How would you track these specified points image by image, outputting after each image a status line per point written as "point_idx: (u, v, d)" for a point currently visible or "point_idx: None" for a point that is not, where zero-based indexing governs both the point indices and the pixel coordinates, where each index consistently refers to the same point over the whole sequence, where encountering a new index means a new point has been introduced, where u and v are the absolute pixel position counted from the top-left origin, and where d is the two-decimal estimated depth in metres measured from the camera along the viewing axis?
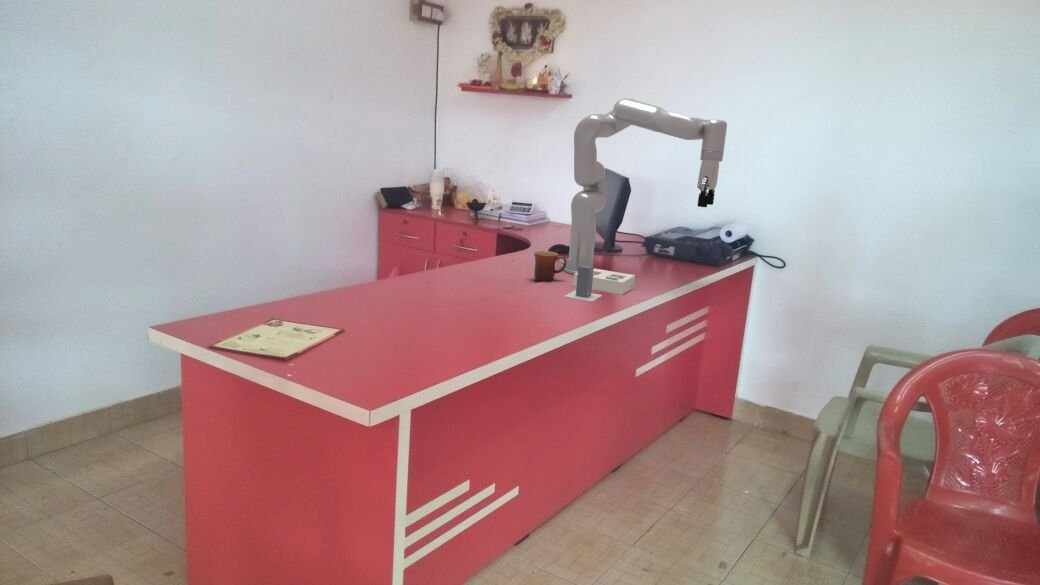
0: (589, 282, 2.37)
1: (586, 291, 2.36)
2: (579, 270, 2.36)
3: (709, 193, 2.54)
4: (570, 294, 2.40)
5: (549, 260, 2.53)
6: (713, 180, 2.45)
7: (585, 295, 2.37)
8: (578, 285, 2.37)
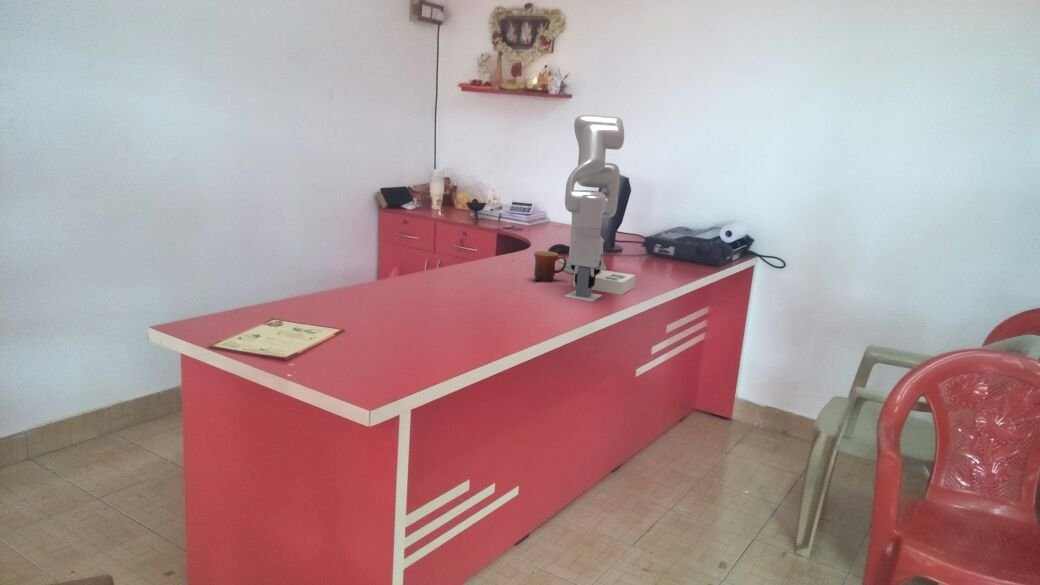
0: None
1: (586, 291, 2.36)
2: (579, 270, 2.36)
3: None
4: (570, 294, 2.40)
5: (549, 260, 2.53)
6: None
7: (585, 295, 2.37)
8: (578, 285, 2.37)
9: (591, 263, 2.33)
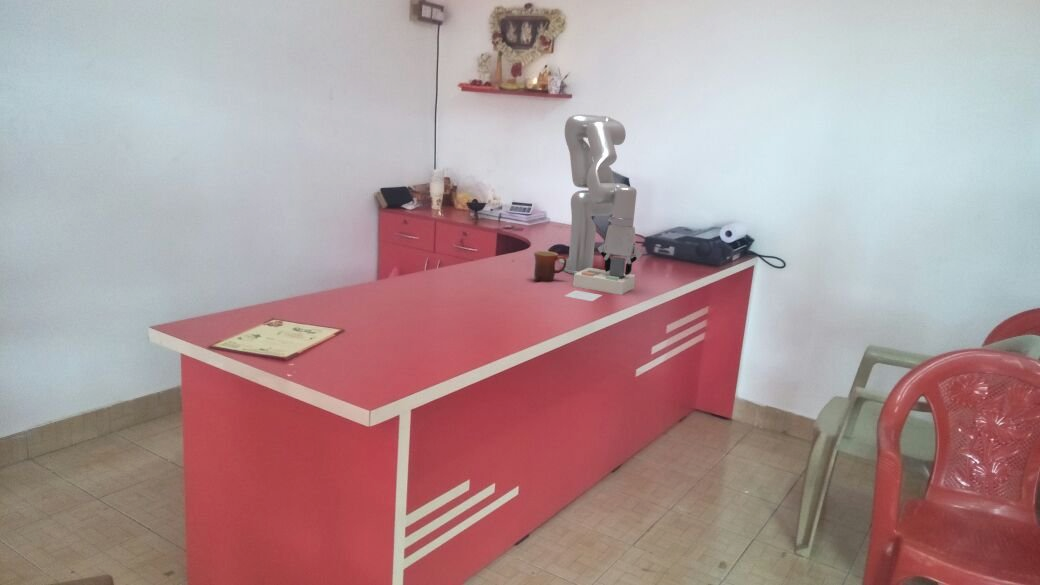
0: (621, 272, 2.49)
1: None
2: (612, 261, 2.48)
3: (609, 260, 2.51)
4: (570, 294, 2.40)
5: (549, 260, 2.53)
6: None
7: None
8: None
9: (624, 252, 2.45)
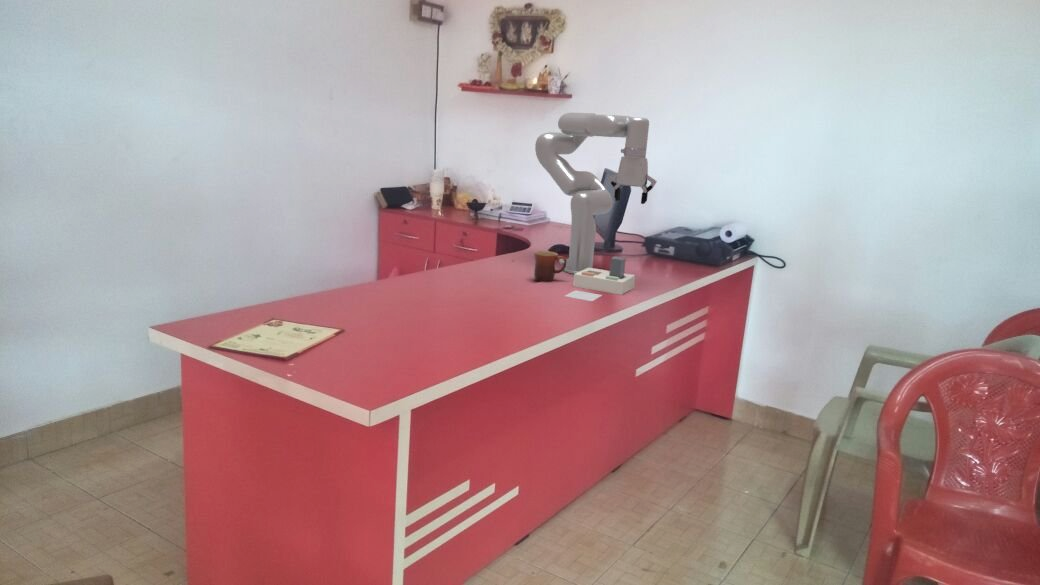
0: (621, 272, 2.49)
1: None
2: (612, 261, 2.48)
3: (619, 189, 2.56)
4: (570, 294, 2.40)
5: (549, 260, 2.53)
6: None
7: None
8: None
9: (637, 182, 2.49)
